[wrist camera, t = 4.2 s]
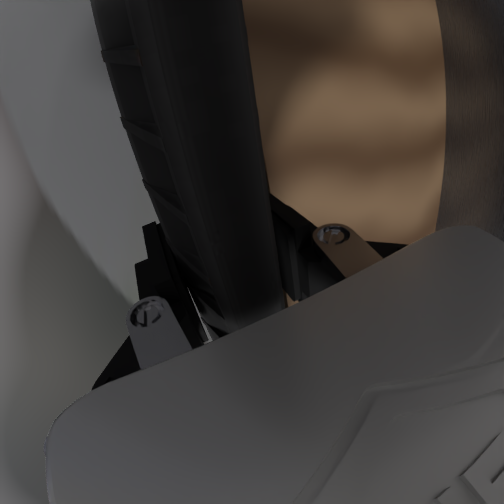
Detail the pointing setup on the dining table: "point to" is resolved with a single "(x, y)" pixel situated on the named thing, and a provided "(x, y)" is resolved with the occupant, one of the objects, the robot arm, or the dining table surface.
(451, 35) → the shelf wall
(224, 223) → the magazine
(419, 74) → the shelf board
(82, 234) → the dining table surface
